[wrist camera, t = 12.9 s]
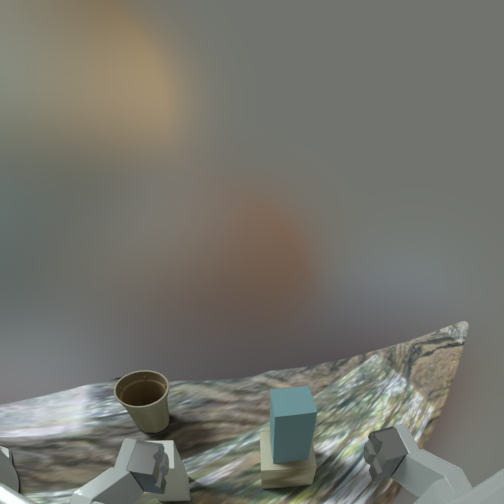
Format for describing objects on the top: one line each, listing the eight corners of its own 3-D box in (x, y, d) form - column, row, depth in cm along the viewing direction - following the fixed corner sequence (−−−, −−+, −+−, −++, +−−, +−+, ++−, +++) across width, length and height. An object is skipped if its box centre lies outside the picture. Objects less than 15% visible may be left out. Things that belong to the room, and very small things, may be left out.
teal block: (273, 463, 29) (274, 416, 26) (269, 438, 33) (270, 389, 31) (308, 459, 29) (317, 411, 26) (302, 435, 33) (308, 385, 31)
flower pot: (187, 410, 46) (178, 376, 43) (165, 447, 37) (152, 413, 34) (143, 399, 48) (132, 365, 45) (119, 430, 39) (103, 396, 36)
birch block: (261, 489, 30) (261, 470, 28) (260, 453, 36) (259, 431, 35) (311, 484, 29) (317, 465, 28) (305, 450, 36) (309, 428, 35)
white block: (159, 501, 26) (136, 468, 24) (158, 477, 30) (138, 440, 28) (190, 500, 27) (174, 468, 24) (188, 476, 31) (173, 440, 29)
